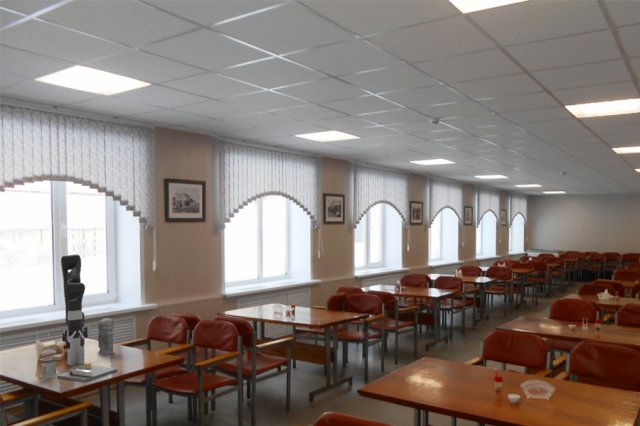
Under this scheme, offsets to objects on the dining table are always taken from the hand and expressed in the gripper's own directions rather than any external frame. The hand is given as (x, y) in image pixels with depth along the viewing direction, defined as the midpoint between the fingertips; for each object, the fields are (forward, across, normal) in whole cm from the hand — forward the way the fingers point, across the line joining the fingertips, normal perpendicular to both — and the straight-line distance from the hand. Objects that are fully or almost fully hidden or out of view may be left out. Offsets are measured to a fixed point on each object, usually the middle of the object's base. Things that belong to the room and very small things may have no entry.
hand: (75, 347), depth 284 cm
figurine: (+16, -55, -45) cm, 73 cm away
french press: (+19, -4, -31) cm, 36 cm away
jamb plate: (+19, -15, -10) cm, 26 cm away
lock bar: (+17, -9, -8) cm, 21 cm away
